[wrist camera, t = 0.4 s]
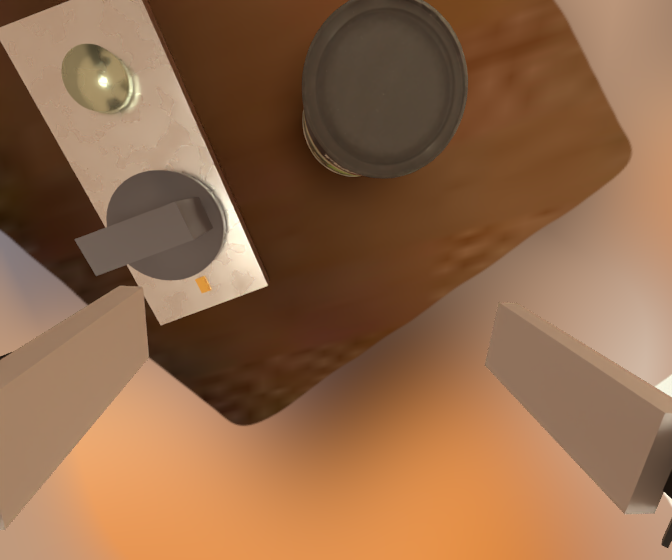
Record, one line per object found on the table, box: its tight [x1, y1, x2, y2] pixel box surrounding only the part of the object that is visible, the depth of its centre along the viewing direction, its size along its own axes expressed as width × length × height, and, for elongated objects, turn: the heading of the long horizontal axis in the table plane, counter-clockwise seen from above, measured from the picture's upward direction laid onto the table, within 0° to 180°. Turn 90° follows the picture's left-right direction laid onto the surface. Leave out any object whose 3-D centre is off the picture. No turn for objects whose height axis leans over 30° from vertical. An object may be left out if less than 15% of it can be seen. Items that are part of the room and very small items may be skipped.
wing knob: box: [74, 170, 226, 281], centre depth 30 cm, size 10×10×8 cm
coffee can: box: [302, 0, 468, 178], centre depth 28 cm, size 10×10×14 cm
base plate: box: [0, 0, 270, 325], centre depth 33 cm, size 28×12×3 cm, turn 20°
